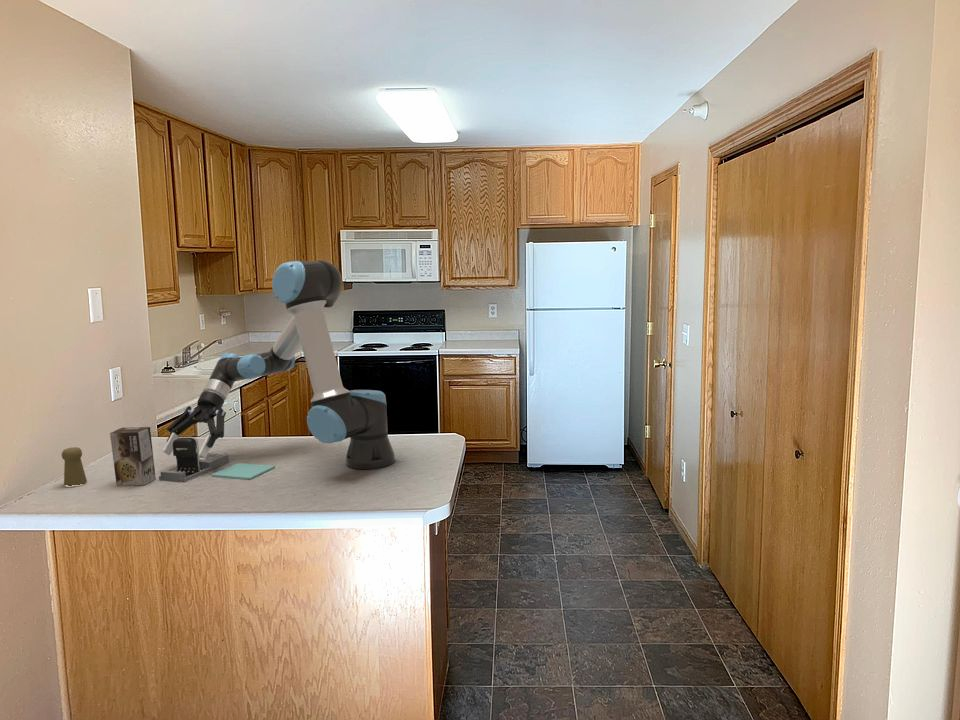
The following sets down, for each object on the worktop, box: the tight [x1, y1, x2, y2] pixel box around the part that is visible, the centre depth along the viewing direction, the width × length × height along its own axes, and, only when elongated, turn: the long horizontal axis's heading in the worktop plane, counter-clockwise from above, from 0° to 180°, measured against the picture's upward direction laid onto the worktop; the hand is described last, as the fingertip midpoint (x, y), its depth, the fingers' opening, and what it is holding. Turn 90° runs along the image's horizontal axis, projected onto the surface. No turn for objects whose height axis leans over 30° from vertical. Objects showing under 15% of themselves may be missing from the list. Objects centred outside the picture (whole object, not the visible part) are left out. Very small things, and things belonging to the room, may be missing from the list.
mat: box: [211, 462, 276, 481], centre depth 211 cm, size 14×12×1 cm
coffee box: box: [109, 426, 157, 486], centre depth 203 cm, size 9×6×16 cm
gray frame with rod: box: [158, 452, 230, 483], centre depth 215 cm, size 19×20×3 cm
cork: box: [61, 446, 88, 486], centre depth 204 cm, size 6×6×11 cm
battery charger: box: [172, 436, 201, 476], centre depth 210 cm, size 7×4×11 cm, turn 83°
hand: (183, 454), depth 210 cm, fingers open, 13 cm apart
